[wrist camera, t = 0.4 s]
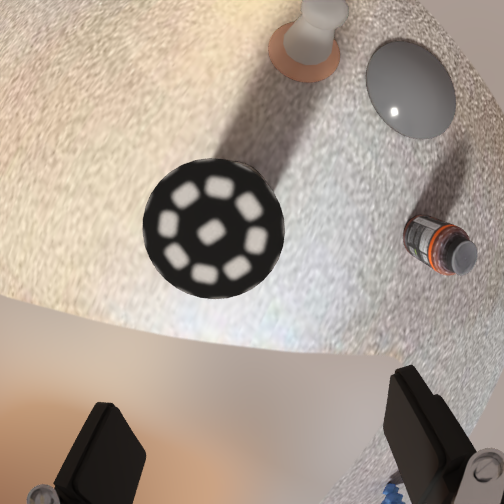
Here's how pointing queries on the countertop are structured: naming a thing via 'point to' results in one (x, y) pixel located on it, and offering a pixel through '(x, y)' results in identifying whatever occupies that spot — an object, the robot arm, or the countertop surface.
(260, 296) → the countertop surface
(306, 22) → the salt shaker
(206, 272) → the spotted tube
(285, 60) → the terracotta spot
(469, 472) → the robot arm
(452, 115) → the slate plate
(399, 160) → the countertop surface
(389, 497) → the grapes
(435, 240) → the supplement bottle
